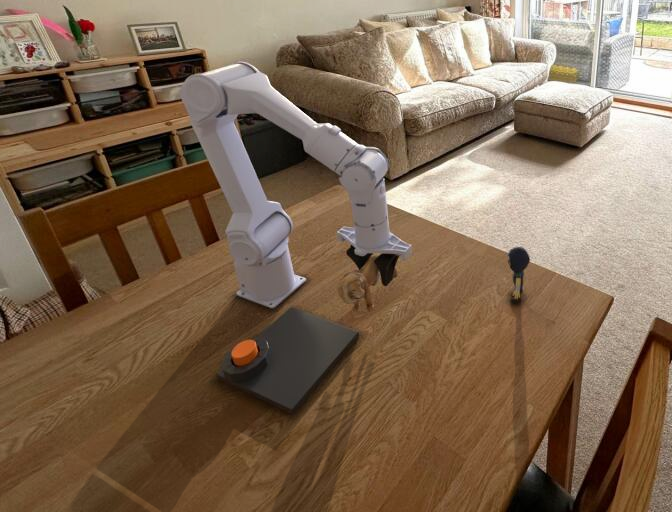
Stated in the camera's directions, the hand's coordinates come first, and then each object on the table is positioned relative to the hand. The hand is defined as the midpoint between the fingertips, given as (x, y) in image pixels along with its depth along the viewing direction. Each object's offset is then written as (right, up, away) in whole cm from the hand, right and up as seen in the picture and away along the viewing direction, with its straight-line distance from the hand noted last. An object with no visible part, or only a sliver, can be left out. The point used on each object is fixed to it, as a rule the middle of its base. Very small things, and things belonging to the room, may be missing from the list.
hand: (378, 279), depth 75 cm
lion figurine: (0, -3, -2) cm, 3 cm away
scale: (-11, -9, -9) cm, 17 cm away
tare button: (-16, -7, -12) cm, 22 cm away
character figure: (+26, -5, +3) cm, 27 cm away
